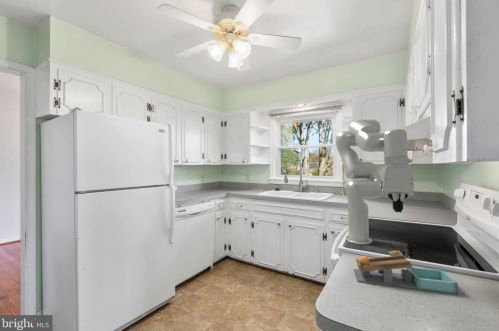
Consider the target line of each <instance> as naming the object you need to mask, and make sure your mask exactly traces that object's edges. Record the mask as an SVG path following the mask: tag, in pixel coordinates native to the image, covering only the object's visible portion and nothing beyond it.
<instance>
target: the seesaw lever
mask: <svg viewBox="0 0 499 331" xmlns="http://www.w3.org/2000/svg"><path fill="white" fill-rule="evenodd" d="M388 254H389V255H390V256H381V257H373V258H369V257H368V259H369V264H368V265H362V264H361V263H360V261H359V259H360V258H359V257H357V258H356V257H355V261H356V265H357V267H358V268H357V269H359V270H360V272H366V271H378V270H383V269H392V270H399V269H407V268H412V267H413V264H412V263H411V261H409V260H408V259H407V257H406V255H404V254H403V253H402V252H401V251H400V250H392V251H388Z"/></svg>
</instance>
